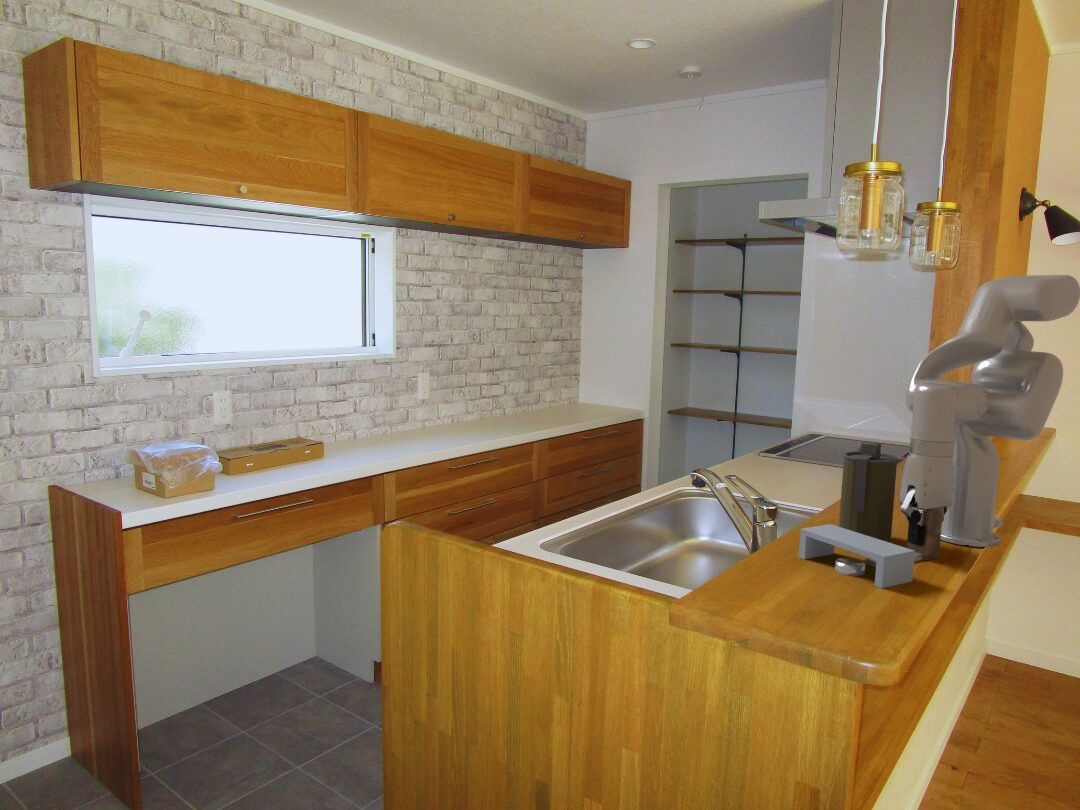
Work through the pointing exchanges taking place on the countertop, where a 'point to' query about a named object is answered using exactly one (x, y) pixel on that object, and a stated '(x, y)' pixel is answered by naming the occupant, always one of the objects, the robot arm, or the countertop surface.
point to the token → (850, 566)
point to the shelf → (860, 552)
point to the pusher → (931, 537)
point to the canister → (868, 491)
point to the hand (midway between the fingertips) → (923, 541)
